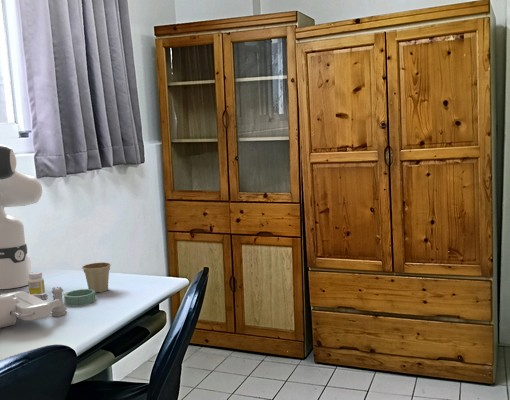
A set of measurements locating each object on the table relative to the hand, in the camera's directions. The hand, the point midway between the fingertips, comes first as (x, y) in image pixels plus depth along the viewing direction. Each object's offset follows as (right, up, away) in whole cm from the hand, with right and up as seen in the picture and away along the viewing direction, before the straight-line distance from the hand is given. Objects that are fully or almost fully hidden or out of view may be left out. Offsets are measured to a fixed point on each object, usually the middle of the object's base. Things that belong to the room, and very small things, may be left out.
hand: (53, 299), depth 171 cm
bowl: (+4, -3, +14) cm, 15 cm away
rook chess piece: (+1, -5, +1) cm, 5 cm away
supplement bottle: (-12, -3, +21) cm, 24 cm away
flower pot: (+6, -2, +27) cm, 27 cm away
